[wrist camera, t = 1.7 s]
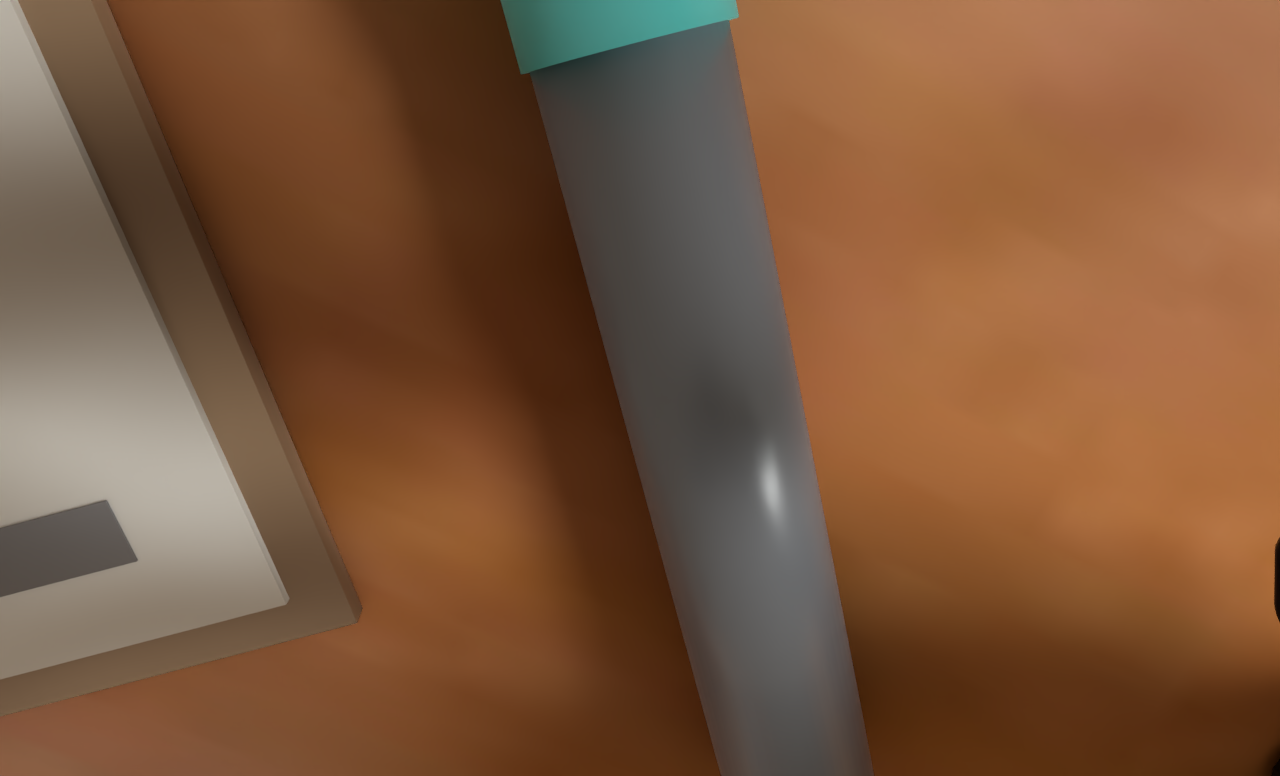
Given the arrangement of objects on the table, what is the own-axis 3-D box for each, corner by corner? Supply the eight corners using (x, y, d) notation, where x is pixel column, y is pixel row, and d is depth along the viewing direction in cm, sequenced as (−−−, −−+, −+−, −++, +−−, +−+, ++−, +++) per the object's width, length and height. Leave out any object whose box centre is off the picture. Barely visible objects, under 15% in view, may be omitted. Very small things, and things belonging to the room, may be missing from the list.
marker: (868, 786, 16) (924, 915, 13) (730, 821, 16) (760, 957, 13) (677, -185, 11) (712, -266, 8) (468, -131, 11) (441, -193, 8)
